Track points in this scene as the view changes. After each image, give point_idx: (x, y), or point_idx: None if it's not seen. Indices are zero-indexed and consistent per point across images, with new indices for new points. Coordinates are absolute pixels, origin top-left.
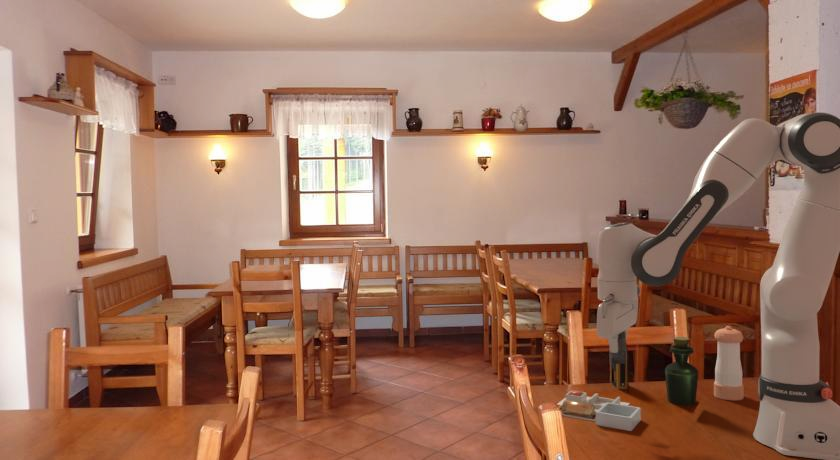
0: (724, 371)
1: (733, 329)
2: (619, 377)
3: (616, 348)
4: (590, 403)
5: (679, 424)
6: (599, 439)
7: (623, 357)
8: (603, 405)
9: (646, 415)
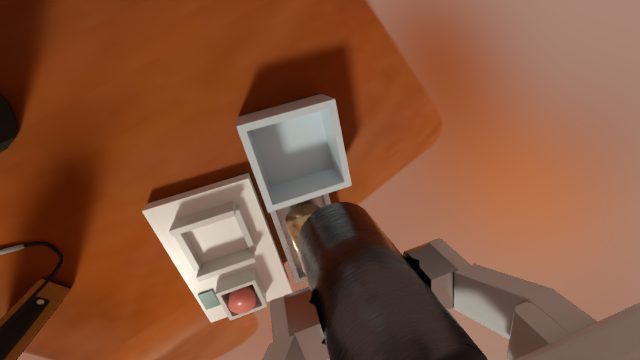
0: None
1: None
2: (34, 324)
3: (454, 256)
4: (254, 252)
5: (131, 40)
6: (372, 137)
7: (363, 218)
8: (296, 202)
9: (151, 149)
